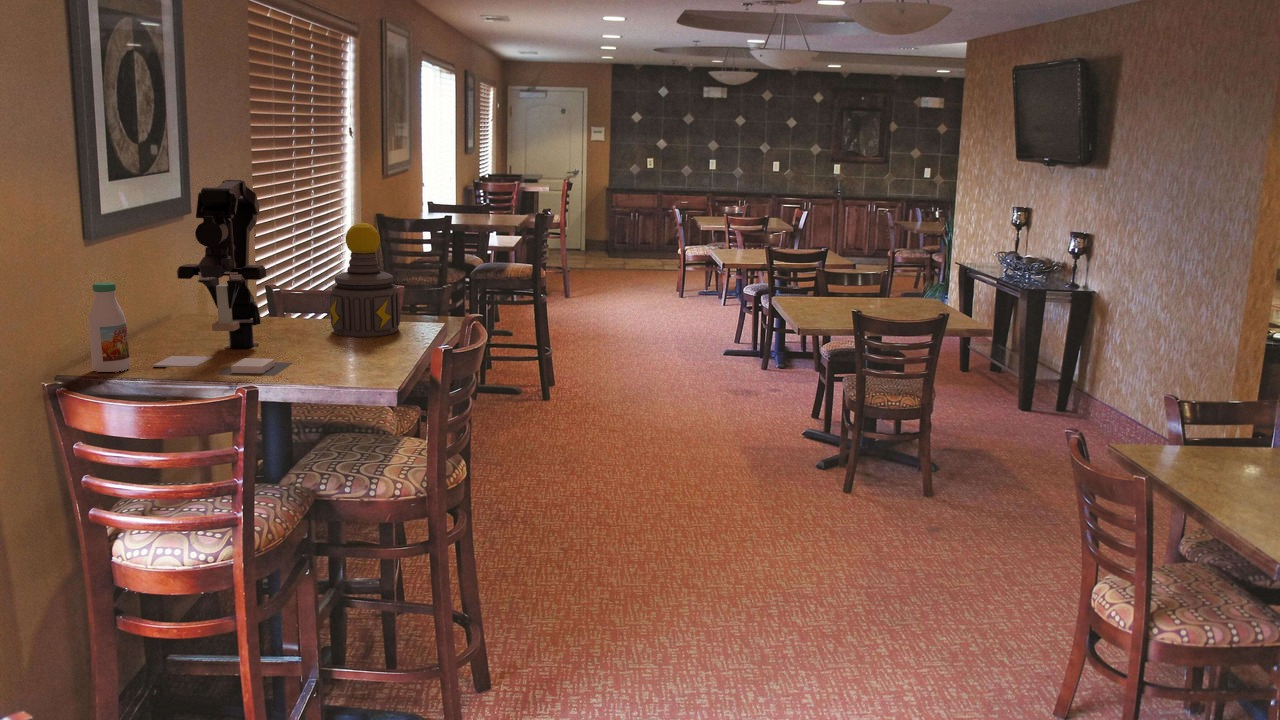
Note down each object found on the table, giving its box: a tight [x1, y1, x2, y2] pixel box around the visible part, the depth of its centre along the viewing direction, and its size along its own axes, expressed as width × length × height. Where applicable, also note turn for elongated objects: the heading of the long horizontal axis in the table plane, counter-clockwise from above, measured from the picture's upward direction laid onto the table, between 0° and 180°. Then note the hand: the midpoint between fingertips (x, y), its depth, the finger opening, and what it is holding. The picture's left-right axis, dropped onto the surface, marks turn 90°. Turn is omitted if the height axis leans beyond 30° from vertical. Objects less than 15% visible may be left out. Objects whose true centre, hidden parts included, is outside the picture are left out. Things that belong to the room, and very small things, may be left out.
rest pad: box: [152, 355, 214, 368], centre depth 244 cm, size 10×10×1 cm
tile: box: [230, 357, 276, 374], centre depth 237 cm, size 2×7×8 cm
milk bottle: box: [88, 281, 131, 373], centre depth 234 cm, size 8×8×20 cm
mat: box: [217, 360, 293, 377], centre depth 239 cm, size 13×13×1 cm
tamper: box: [211, 283, 240, 332], centre depth 244 cm, size 4×5×10 cm
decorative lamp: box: [329, 222, 401, 338], centre depth 283 cm, size 19×19×30 cm
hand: (224, 308), depth 244 cm, fingers closed on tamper, 2 cm apart
